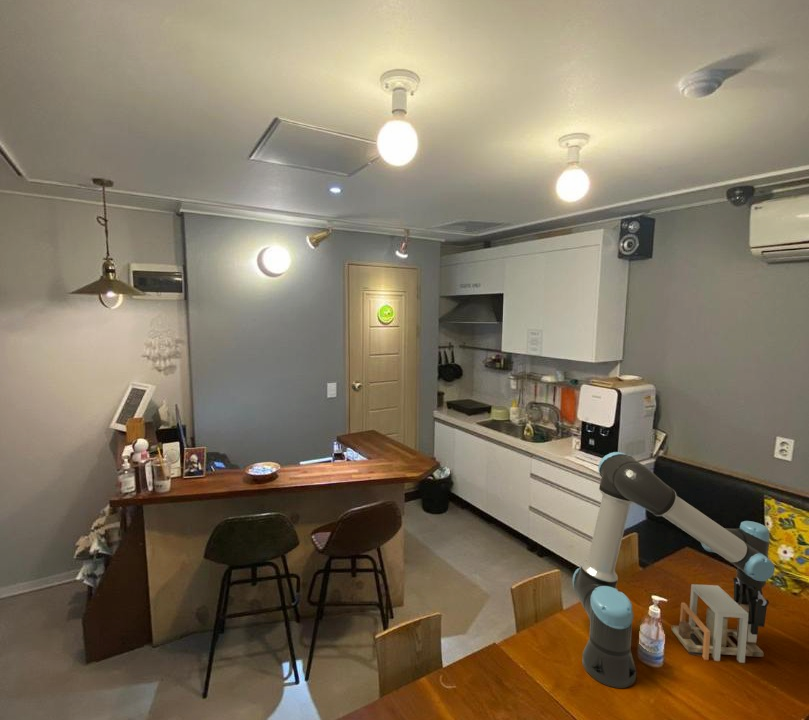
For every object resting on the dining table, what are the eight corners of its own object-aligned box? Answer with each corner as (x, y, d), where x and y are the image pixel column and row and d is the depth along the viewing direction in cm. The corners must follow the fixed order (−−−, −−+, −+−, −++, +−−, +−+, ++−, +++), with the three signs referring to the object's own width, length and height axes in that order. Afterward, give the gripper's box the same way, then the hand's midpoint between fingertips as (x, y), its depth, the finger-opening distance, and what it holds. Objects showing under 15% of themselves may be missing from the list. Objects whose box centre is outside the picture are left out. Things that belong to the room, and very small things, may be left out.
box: (726, 651, 143) (728, 619, 142) (711, 649, 144) (714, 617, 143) (718, 640, 148) (720, 609, 148) (704, 638, 149) (706, 607, 148)
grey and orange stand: (704, 660, 140) (708, 611, 138) (679, 627, 154) (682, 583, 153) (744, 662, 139) (748, 613, 137) (715, 630, 153) (718, 585, 152)
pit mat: (690, 654, 142) (690, 653, 142) (672, 631, 153) (672, 630, 153) (709, 656, 141) (709, 655, 141) (690, 632, 152) (690, 631, 152)
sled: (688, 651, 142) (690, 613, 141) (671, 629, 152) (673, 594, 151) (763, 656, 140) (766, 618, 139) (740, 634, 151) (743, 598, 150)
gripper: (783, 585, 135) (777, 656, 137) (746, 557, 151) (741, 620, 153) (757, 583, 136) (752, 654, 137) (723, 555, 152) (719, 619, 154)
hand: (746, 636), depth 145 cm, fingers closed on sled, 3 cm apart
